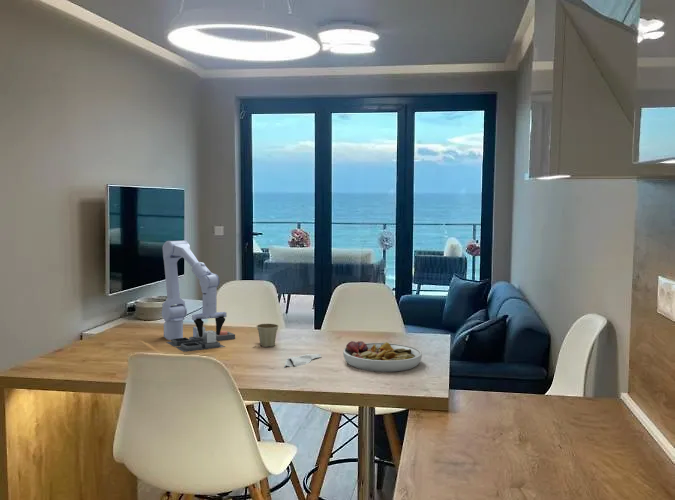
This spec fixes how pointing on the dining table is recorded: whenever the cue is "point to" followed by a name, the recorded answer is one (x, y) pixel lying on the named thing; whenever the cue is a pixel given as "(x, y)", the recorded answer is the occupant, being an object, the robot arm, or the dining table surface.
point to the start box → (225, 336)
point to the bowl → (381, 356)
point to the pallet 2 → (198, 346)
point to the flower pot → (267, 334)
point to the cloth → (300, 360)
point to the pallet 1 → (183, 341)
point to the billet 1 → (196, 334)
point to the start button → (223, 332)
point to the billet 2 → (209, 337)
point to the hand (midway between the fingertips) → (209, 335)
